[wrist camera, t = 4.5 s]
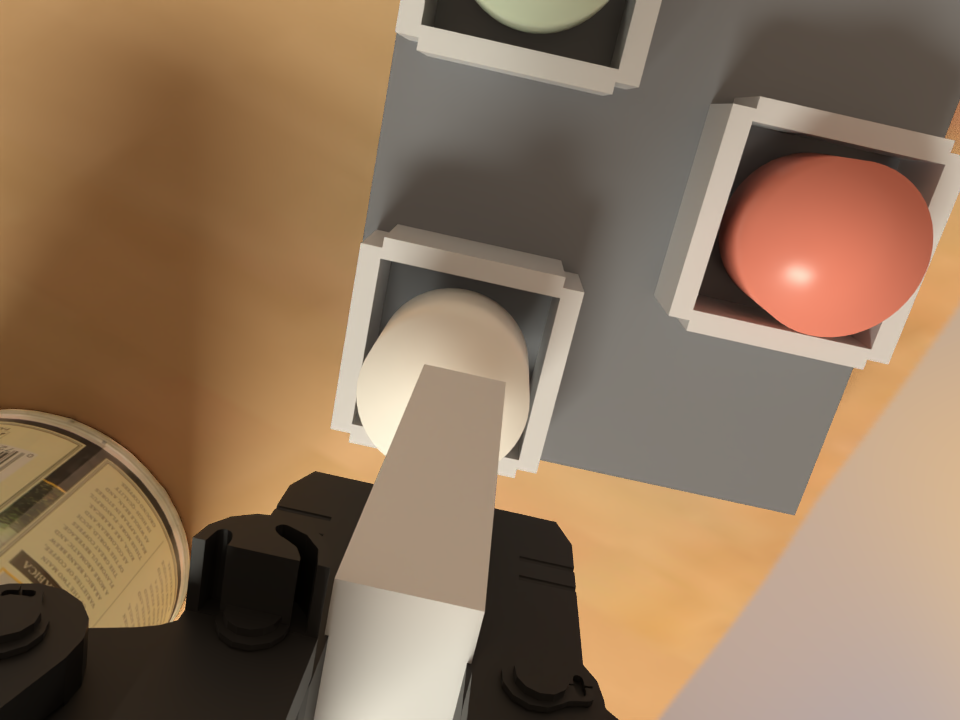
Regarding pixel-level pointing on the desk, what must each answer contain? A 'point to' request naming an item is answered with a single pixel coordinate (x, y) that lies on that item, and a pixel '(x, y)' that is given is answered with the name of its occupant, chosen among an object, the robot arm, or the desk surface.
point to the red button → (826, 242)
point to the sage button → (541, 13)
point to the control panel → (644, 215)
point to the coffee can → (88, 521)
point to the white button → (443, 359)
